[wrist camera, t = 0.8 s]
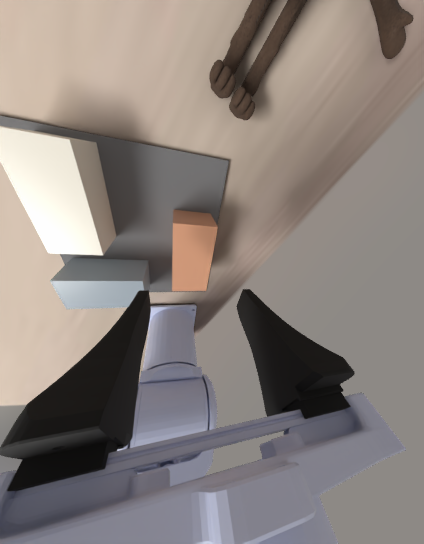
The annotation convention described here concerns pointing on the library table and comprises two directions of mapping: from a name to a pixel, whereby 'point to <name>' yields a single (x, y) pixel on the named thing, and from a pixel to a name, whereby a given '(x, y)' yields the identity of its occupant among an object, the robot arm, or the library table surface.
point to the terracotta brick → (192, 250)
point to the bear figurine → (222, 73)
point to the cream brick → (60, 189)
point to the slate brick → (100, 282)
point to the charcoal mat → (147, 196)
